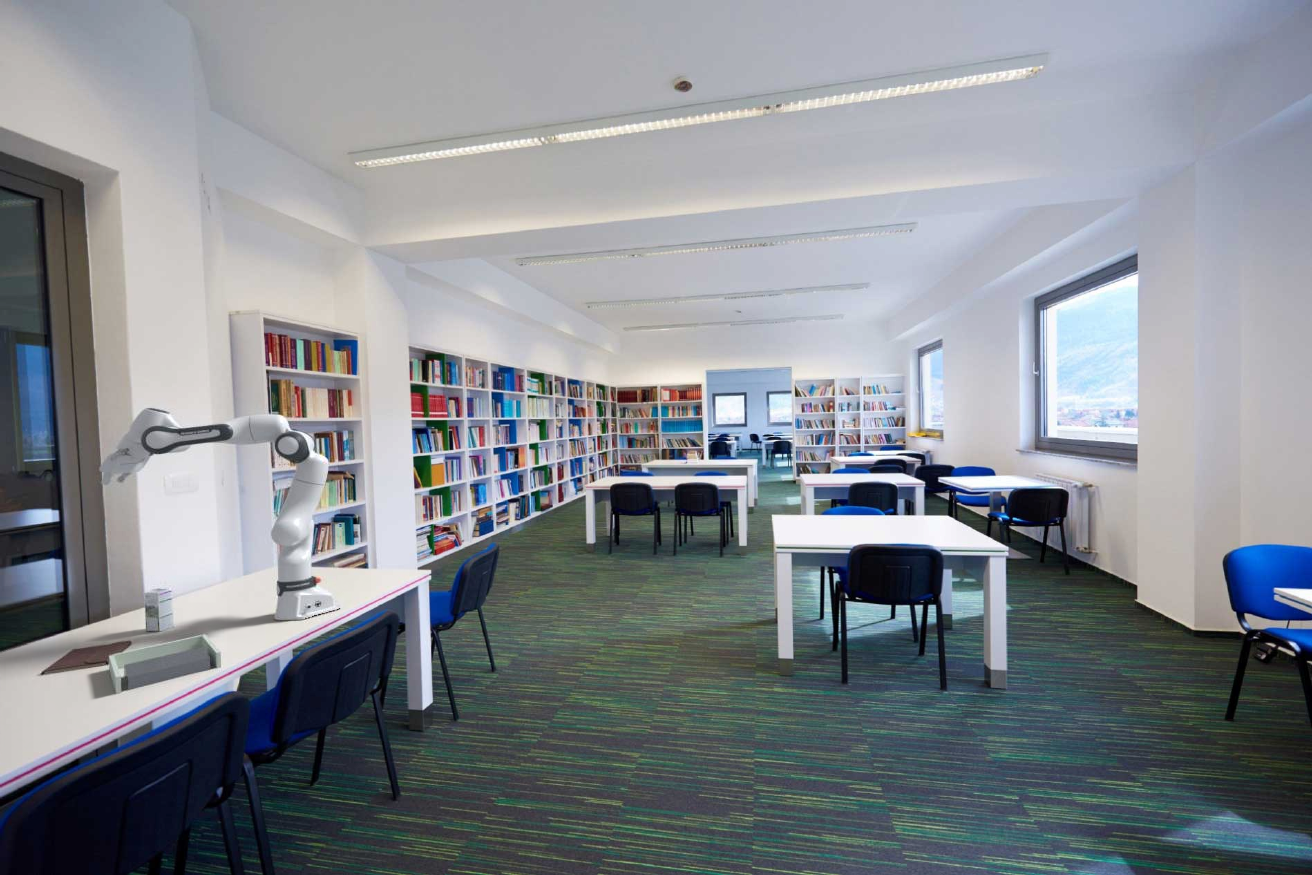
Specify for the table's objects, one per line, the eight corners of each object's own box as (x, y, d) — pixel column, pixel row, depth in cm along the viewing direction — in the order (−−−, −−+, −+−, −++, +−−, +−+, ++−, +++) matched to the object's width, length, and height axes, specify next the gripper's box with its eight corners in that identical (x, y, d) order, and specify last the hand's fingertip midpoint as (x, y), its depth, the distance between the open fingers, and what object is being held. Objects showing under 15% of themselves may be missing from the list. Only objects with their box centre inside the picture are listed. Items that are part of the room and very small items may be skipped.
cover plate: (202, 659, 179) (201, 646, 178) (210, 670, 170) (210, 657, 170) (124, 678, 165) (123, 664, 165) (128, 691, 156) (128, 677, 156)
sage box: (205, 647, 187) (205, 634, 187) (220, 666, 171) (220, 651, 171) (109, 670, 171) (108, 655, 170) (116, 693, 154) (115, 677, 154)
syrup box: (174, 626, 210) (173, 587, 210) (159, 632, 204) (157, 592, 204) (160, 626, 210) (159, 587, 210) (144, 631, 204) (143, 592, 204)
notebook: (41, 676, 168) (40, 670, 168) (72, 654, 186) (71, 648, 186) (108, 666, 175) (108, 659, 175) (131, 645, 192) (131, 639, 192)
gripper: (127, 453, 195) (104, 489, 193) (158, 451, 215) (137, 484, 213) (107, 444, 194) (83, 481, 192) (139, 444, 213) (118, 477, 211)
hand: (112, 482), depth 202 cm, fingers open, 8 cm apart
